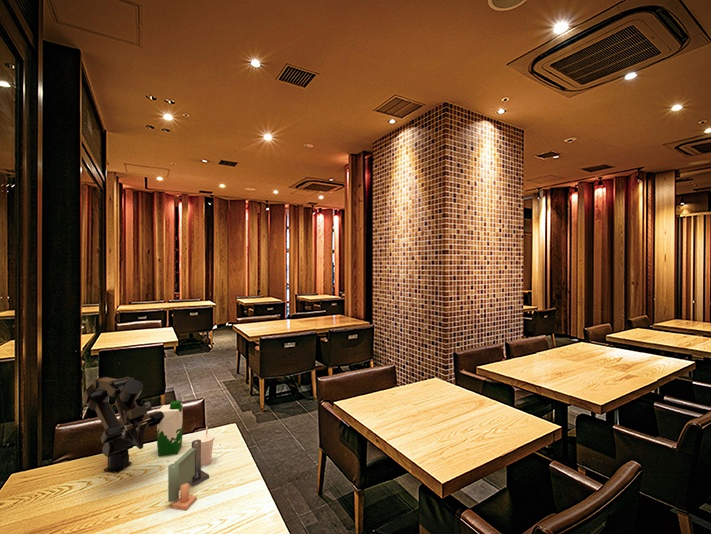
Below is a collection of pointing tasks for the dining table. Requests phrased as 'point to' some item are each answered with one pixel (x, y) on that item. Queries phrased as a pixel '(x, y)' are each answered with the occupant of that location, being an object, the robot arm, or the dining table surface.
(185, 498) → the post
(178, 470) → the gate
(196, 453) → the hinge post
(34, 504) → the dining table surface
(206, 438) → the smoothie
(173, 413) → the milk carton
